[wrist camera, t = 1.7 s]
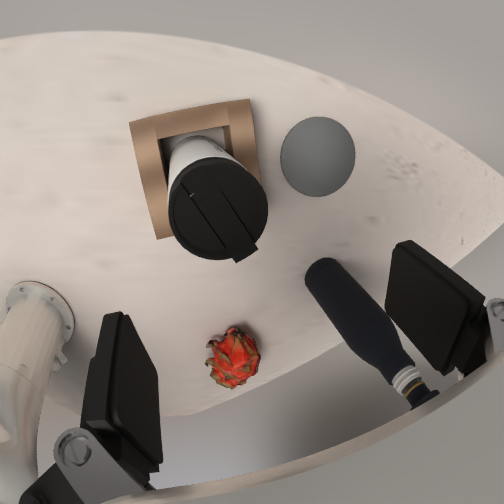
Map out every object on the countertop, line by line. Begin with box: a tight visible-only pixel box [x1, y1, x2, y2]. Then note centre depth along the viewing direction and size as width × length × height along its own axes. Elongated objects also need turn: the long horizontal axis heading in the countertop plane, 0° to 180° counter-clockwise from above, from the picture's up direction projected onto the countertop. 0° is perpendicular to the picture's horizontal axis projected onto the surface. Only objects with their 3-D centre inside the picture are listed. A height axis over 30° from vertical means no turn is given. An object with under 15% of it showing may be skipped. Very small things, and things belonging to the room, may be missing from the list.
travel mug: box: [168, 136, 268, 263], centre depth 26 cm, size 6×7×20 cm
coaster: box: [280, 117, 355, 197], centre depth 38 cm, size 11×11×1 cm
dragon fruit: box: [205, 328, 261, 389], centre depth 46 cm, size 8×8×12 cm
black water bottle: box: [305, 258, 440, 411], centre depth 35 cm, size 6×6×30 cm
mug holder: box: [129, 99, 261, 240], centre depth 33 cm, size 13×13×5 cm
